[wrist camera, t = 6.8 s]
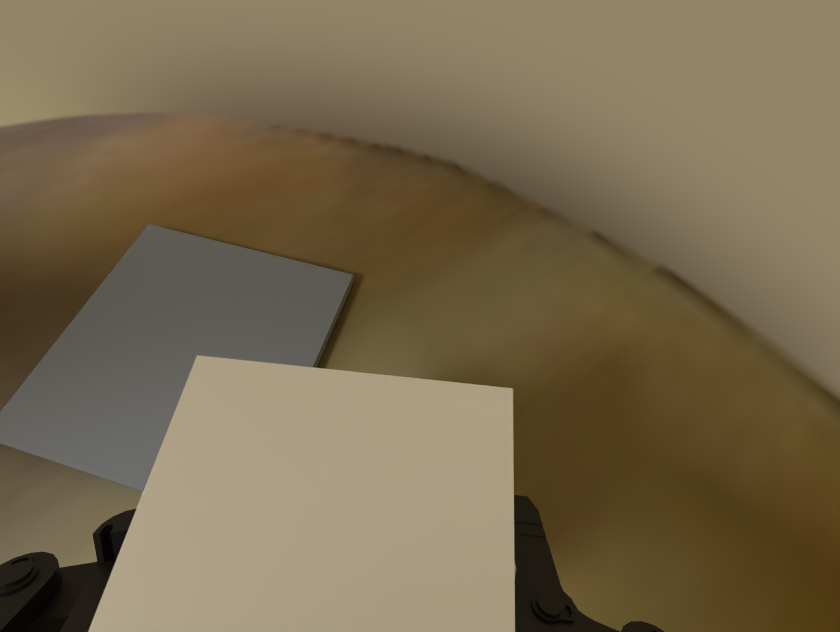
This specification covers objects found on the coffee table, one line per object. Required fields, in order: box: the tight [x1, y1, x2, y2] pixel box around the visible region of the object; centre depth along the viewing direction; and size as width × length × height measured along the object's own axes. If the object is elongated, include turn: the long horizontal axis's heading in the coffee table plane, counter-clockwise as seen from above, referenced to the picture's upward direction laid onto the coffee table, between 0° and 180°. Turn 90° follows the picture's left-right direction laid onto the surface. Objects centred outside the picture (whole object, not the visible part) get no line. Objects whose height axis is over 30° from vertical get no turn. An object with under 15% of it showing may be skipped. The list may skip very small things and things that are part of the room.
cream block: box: [88, 355, 515, 632], centre depth 12 cm, size 6×6×13 cm
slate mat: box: [0, 224, 354, 491], centre depth 22 cm, size 14×14×1 cm
